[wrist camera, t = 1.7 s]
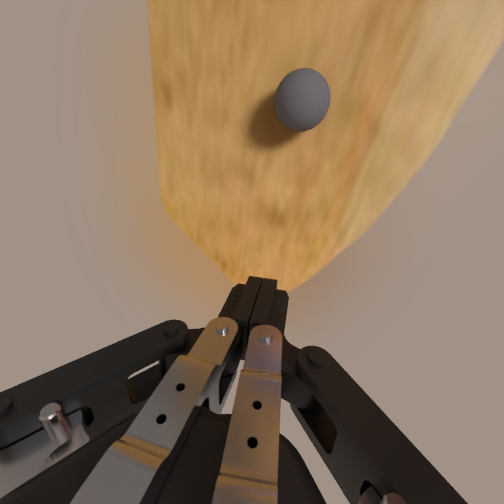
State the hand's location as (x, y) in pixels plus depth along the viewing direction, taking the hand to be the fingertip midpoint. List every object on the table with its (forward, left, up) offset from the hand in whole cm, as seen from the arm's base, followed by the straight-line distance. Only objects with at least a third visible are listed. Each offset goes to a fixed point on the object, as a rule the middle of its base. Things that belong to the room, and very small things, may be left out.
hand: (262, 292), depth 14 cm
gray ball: (-10, +2, -19) cm, 22 cm away
